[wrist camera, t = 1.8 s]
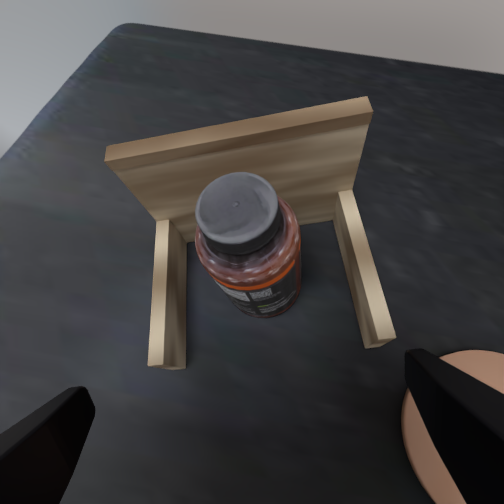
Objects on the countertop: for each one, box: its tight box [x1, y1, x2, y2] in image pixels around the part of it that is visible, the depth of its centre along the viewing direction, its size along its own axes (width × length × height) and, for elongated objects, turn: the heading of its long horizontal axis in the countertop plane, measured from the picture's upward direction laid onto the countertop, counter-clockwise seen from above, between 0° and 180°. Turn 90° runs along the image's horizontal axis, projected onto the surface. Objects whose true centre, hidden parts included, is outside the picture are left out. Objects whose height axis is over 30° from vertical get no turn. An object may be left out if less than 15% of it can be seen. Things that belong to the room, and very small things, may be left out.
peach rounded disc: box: [401, 350, 504, 504], centre depth 17 cm, size 10×10×1 cm
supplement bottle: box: [195, 172, 302, 318], centre depth 19 cm, size 6×6×11 cm
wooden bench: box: [104, 96, 396, 370], centre depth 19 cm, size 12×15×11 cm
